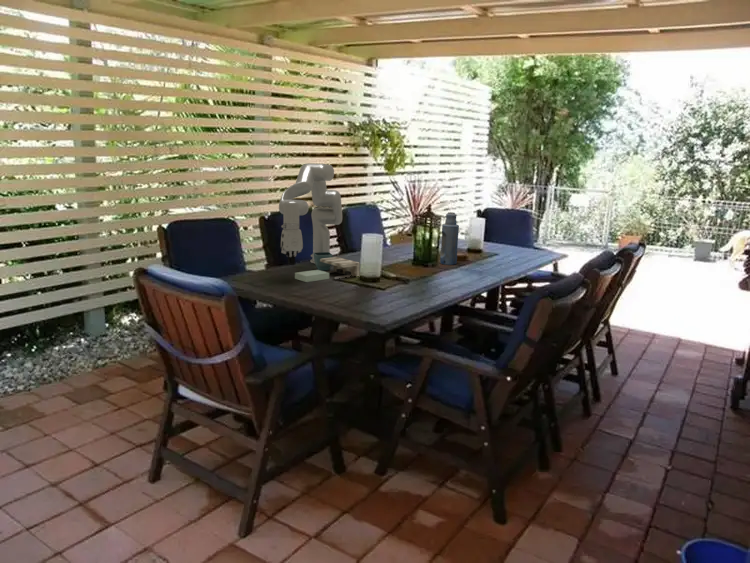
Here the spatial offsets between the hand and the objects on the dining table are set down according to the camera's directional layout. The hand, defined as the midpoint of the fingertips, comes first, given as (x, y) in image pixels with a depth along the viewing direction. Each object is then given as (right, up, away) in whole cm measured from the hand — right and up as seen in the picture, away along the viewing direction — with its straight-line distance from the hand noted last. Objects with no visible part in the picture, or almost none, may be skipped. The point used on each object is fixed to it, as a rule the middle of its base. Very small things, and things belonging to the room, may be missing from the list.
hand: (291, 264), depth 286 cm
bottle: (+84, +2, +60) cm, 103 cm away
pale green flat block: (+9, -7, +10) cm, 15 cm away
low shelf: (+21, -5, +20) cm, 30 cm away
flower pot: (+12, -2, +33) cm, 35 cm away
